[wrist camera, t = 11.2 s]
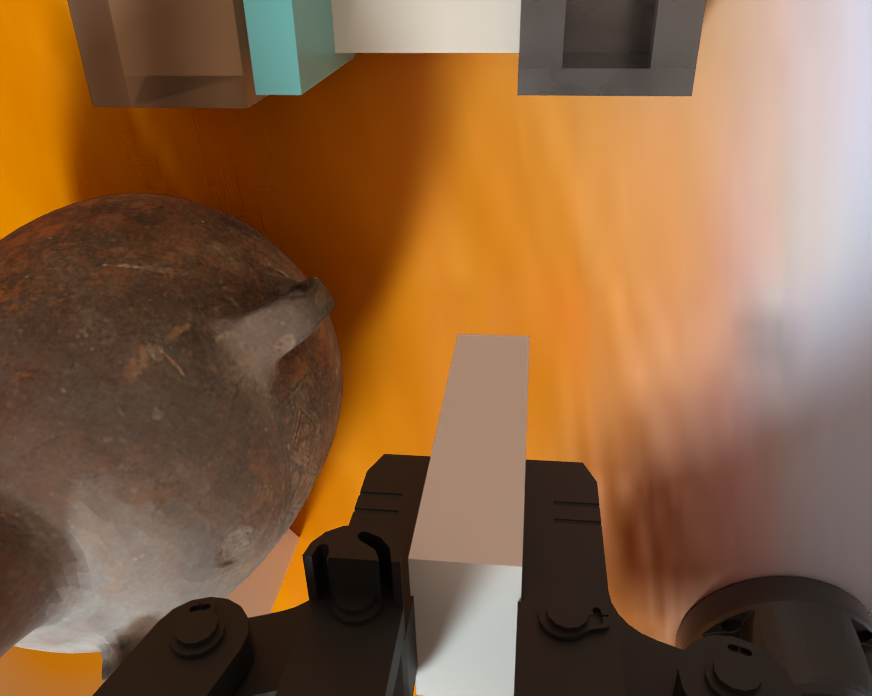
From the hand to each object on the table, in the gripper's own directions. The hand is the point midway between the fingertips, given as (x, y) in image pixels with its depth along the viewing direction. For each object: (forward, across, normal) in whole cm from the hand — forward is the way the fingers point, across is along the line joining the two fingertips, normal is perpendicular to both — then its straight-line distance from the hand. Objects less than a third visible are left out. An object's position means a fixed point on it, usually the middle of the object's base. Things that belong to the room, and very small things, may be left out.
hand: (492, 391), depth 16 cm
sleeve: (+29, -4, -6) cm, 30 cm away
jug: (+30, +20, +12) cm, 38 cm away
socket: (+29, +17, -6) cm, 34 cm away
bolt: (+28, +8, -6) cm, 30 cm away
